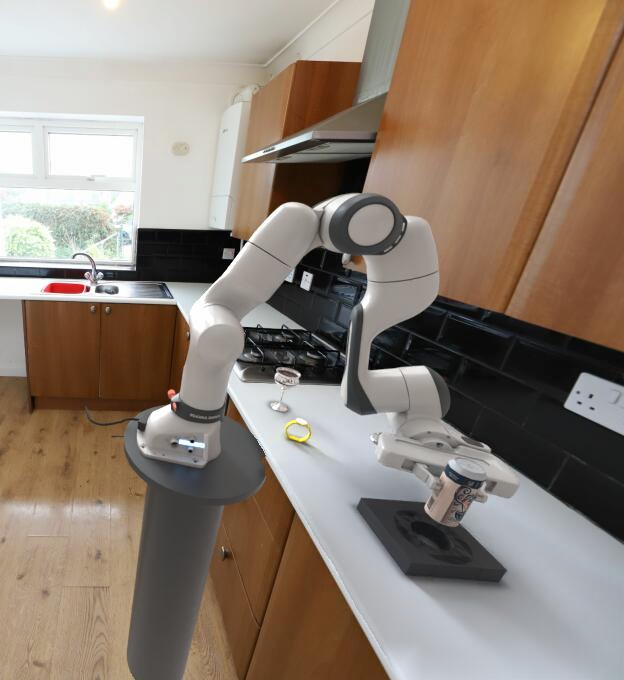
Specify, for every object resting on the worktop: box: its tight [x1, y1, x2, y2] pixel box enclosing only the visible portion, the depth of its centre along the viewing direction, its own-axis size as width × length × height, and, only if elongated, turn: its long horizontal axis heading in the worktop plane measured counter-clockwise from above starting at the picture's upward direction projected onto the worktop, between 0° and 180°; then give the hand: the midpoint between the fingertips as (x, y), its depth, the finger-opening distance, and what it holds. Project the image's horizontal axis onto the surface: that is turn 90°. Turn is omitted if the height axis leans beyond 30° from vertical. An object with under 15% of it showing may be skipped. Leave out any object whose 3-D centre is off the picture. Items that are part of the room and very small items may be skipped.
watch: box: [284, 417, 312, 443], centre depth 92 cm, size 6×3×6 cm, turn 65°
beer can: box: [424, 457, 487, 527], centre depth 61 cm, size 5×5×12 cm
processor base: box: [356, 497, 508, 583], centre depth 66 cm, size 16×14×3 cm
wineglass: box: [269, 366, 302, 412], centre depth 106 cm, size 7×7×12 cm
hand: (458, 493), depth 60 cm, fingers closed on beer can, 5 cm apart
